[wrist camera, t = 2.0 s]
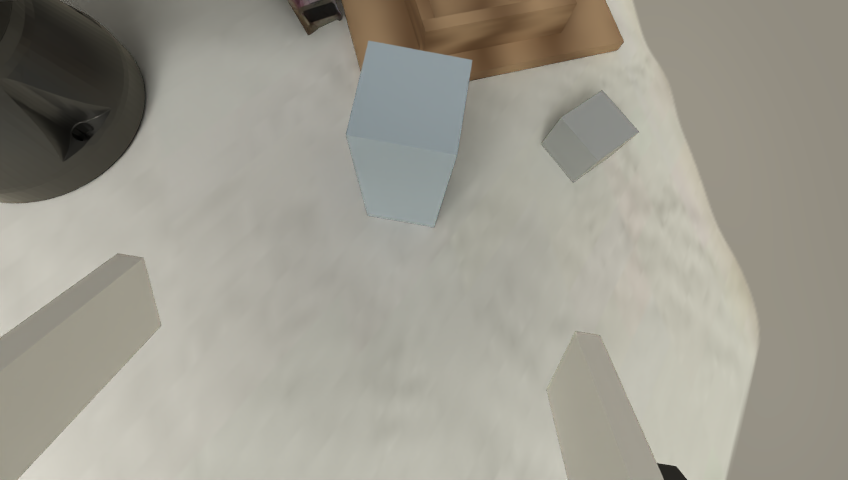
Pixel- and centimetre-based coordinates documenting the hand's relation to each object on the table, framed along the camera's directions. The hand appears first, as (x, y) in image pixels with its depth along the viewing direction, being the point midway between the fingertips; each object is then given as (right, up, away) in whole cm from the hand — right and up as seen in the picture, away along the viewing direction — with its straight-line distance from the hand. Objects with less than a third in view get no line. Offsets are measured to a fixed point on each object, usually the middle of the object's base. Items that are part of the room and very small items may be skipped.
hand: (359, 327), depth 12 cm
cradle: (+6, +24, +22) cm, 33 cm away
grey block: (+14, +10, +19) cm, 26 cm away
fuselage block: (+1, +7, +17) cm, 18 cm away
